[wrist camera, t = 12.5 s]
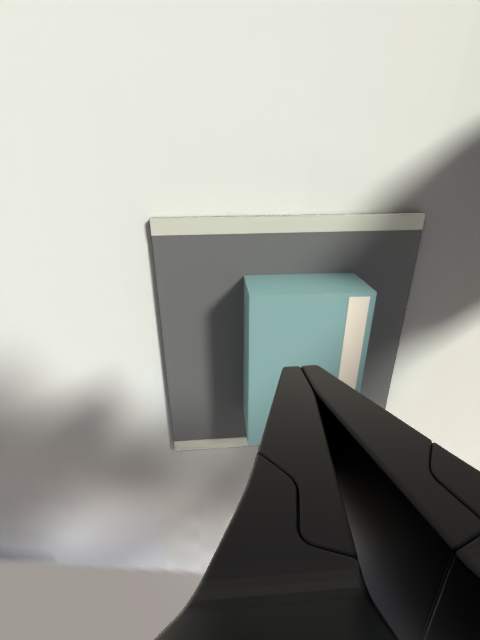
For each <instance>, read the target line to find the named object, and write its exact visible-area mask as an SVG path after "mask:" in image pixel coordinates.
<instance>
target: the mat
mask: <svg viewBox="0 0 480 640" xmlns="http://www.w3.org/2000/svg"><path fill="white" fill-rule="evenodd" d="M425 216H426V214H425V213H372V214H320V215H267V216H214V217H162V218H150V228H151V236H152V245H153V254H154V263H155V272H156V282H157V291H158V300H159V309H160V318H161V328H162V337H163V346H164V355H165V364H166V374H167V383H168V392H169V401H170V410H171V420H172V429H173V438H174V448H175V451H183V450H198V449H213V448H228V447H244V446H259V445H248V441H247V434H246V426H245V419H244V411H243V379H244V275H281V274H319V273H355V274H356V275H357V276H358V277H360V278H361V279H362V280H363V281H364V282H366V283H367V284H368V285H369V286H370V287H371V288H373V289H374V290H375V291H376V292H377V295H376V301H375V307H374V313H373V319H372V325H371V330H370V336H369V342H368V348H367V354H366V360H365V366H364V372H363V378H362V383H361V389H360V393H361V394H362V395H364V396H365V397H367V398H368V399H370V400H371V401H373V402H374V403H376V404H377V405H379V406H380V407H382V408H383V409H385V407H386V402H387V397H388V393H389V388H390V383H391V378H392V373H393V368H394V364H395V359H396V354H397V349H398V344H399V339H400V335H401V330H402V325H403V320H404V315H405V310H406V306H407V301H408V296H409V291H410V286H411V281H412V277H413V272H414V267H415V262H416V257H417V252H418V248H419V243H420V238H421V233H422V230H423V226H424V221H425Z"/></svg>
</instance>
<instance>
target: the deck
mask: <svg viewBox="0 0 480 640" xmlns="http://www.w3.org/2000/svg"><path fill="white" fill-rule="evenodd" d="M376 295H377V292H376V291H375V290H374V289H373V288H371V287H370V286H369V285H368V284H367V283H366V282H364V281H363V280H362V279H361V278H360V277H358V276H357V275H356V274H355V273H319V274H281V275H244V379H243V411H244V419H245V426H246V434H247V441H248V445H260V442H261V439H262V436H263V432H264V429H265V426H266V422H267V419H268V416H269V412H270V409H271V405H272V402H273V399H274V395H275V392H276V389H277V385H278V382H279V379H280V375H281V372H282V369H283V367H289V366H299V367H300V368H301V367H302V366H306V365H318V366H320V367H321V368H323V369H324V370H326V371H327V372H329V373H330V374H332V375H333V376H335V377H336V378H338V379H339V380H341V381H342V382H344V383H346V384H347V385H349V386H350V387H352V388H353V389H355V390H356V391H358V392H359V393H360V389H361V383H362V378H363V372H364V366H365V360H366V354H367V348H368V342H369V336H370V330H371V325H372V319H373V313H374V307H375V301H376Z"/></svg>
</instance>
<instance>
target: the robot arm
mask: <svg viewBox="0 0 480 640" xmlns="http://www.w3.org/2000/svg"><path fill="white" fill-rule="evenodd" d="M154 640H480V471H478V470H477V469H475V468H474V467H472V466H470V465H469V464H467V463H466V462H464V461H463V460H461V459H459V458H458V457H456V456H455V455H453V454H452V453H450V452H449V451H447V450H446V449H444V448H442V447H441V446H439V445H438V444H436V443H432V441H431V440H430V439H429V438H427V437H426V436H424V435H423V434H421V433H420V432H418V431H417V430H415V429H414V428H412V427H411V426H409V425H407V424H406V423H404V422H403V421H401V420H400V419H398V418H397V417H395V416H394V415H392V414H391V413H389V412H388V411H386V410H385V409H383V408H382V407H380V406H379V405H377V404H376V403H374V402H373V401H371V400H370V399H368V398H367V397H365V396H364V395H362V394H361V393H359V392H358V391H356V390H355V389H353V388H352V387H350V386H349V385H347V384H346V383H344V382H342V381H341V380H339V379H338V378H336V377H335V376H333V375H332V374H330V373H329V372H327V371H326V370H324V369H323V368H321V367H320V366H318V365H306V366H302V367H301V368H300V367H299V366H289V367H283V369H282V372H281V375H280V379H279V382H278V385H277V389H276V392H275V395H274V399H273V402H272V405H271V409H270V412H269V416H268V419H267V422H266V426H265V429H264V432H263V436H262V439H261V442H260V446H259V449H258V453H257V456H256V458H255V462H254V465H253V468H252V471H251V474H250V477H249V480H248V483H247V486H246V488H245V491H244V493H243V495H242V498H241V500H240V502H239V504H238V507H237V509H236V511H235V513H234V515H233V517H232V519H231V521H230V523H229V525H228V527H227V529H226V532H225V534H224V536H223V538H222V540H221V542H220V544H219V546H218V548H217V550H216V552H215V554H214V556H213V558H212V560H211V562H210V564H209V566H208V568H207V570H206V572H205V574H204V576H203V578H202V580H201V582H200V584H199V585H198V587H197V589H196V590H195V592H194V594H193V596H192V597H191V599H190V600H189V602H188V603H187V605H186V606H185V607H184V608H183V610H182V611H181V612H180V613H179V614H178V616H177V617H176V618H175V619H174V620H173V621H172V622H171V623H170V624H169V625H168V626H167V627H166V628H165V629H164V630H163V631H162V632H161V633H160V634H159V635H158V636H157V637H156V638H155V639H154Z"/></svg>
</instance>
